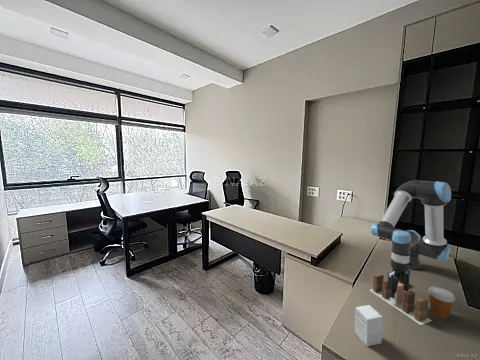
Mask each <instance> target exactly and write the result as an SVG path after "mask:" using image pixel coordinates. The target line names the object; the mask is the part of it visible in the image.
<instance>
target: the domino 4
mask: <svg viewBox="0 0 480 360" xmlns="http://www.w3.org/2000/svg"><path fill="white" fill-rule="evenodd" d="M415 305H416V292H414V291H413V290H408V291H405V292H404V297H403V311H404V312H405V313H410V312H413V311H414V309H415Z"/></svg>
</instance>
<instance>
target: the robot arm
mask: <svg viewBox="0 0 480 360" xmlns="http://www.w3.org/2000/svg"><path fill="white" fill-rule="evenodd" d="M393 196H394V197H393V199H392V200H391V202H390V204H389V206H388V207H387V209H386V211H385V213H384V214H383V216H382V218H381V219H380V221H379V223H372V225H371V226H370V233H371V235H372V236H374V237H377V238H380V239H383V240H388V241H391V256H390V266H391V268H392V270H391V272H388V273H387V279H388V286H387V290H388V291H390V302H392V303H393V304H395V305H396V303H397V293H396V290H397V286H398V283H401V284H403V285H404V289H403V297H404V292H407V291H409V288H410V277H411V276H410V274H411V270H413V271H417V270H418V271H419V270H421V269H422V266H423V265H422V262H421V259H420V256H424V257H427V258H430V259H434V260H436V261H441V262H446V261H447V259H448V257H450V256H449V255H450V253H451V250H452V246H451V244H449V243H448V241H447V239H446V238H444V206H446V205H447V203H449V202H450V201H451V199H452V190H451V187H450V185H449V183H447V182H445V181H444V182H443V181H438V180H437V181H434V180H433V181H430V180H419V179H415V180H410V181H407V182H405V183H402V184H401V185H400V186H399V187H397V189H396V190H395V191H394V193H393ZM413 199H417V200H420V201H421V204H423V205H424V231H425V232H424V233H425V235H424V236H423V237H422V236H421V235H420V234H419V233H418V232H417V231H415V230H414V229H412V230H411V229H407V230H404V229H400V228H395V226H396V225H397V222H398V221H399V219H400V217H401V216H402V213H403V212H404V210H405V209H406V207H407V205H408V203H409V202H411V201H412V200H413ZM397 278H398V279H397Z"/></svg>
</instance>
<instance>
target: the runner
mask: <svg viewBox="0 0 480 360" xmlns="http://www.w3.org/2000/svg"><path fill="white" fill-rule="evenodd" d="M369 291H370V292H371V293H372V294H374V295H376V297H378V298H380V299H381V300H383V301H384V302H386V303H388V305H390V306H392V307H393V308H395V309H396V310H398V311H399V312H401V313H402V314H404V315H405V316H407V317H409V319H411V320H412V321H413V322H415V323H417V324H418V325H420V326H422V325H425V324H428V323H430V322H432V321H433V320H431V319H430V318H429V317H427V319H425V320H423V321H420V322H419V321H417V320H416V319H414V318H415V308H414V311H413V312H410V313H405V312H404V311H403V302H402V303H399V304H396V305H395V304H393V303H392V302H390V298H388V299H384V298H383V297H382V292H378V293H375V292H374V291H373V288H371V289H369Z"/></svg>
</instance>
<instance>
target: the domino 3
mask: <svg viewBox="0 0 480 360" xmlns="http://www.w3.org/2000/svg"><path fill="white" fill-rule="evenodd" d="M403 289H404V285H403V284H401V283H399V282H398V286H397V290H396V293H397V303H396V304H399V303H402V302H403Z"/></svg>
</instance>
